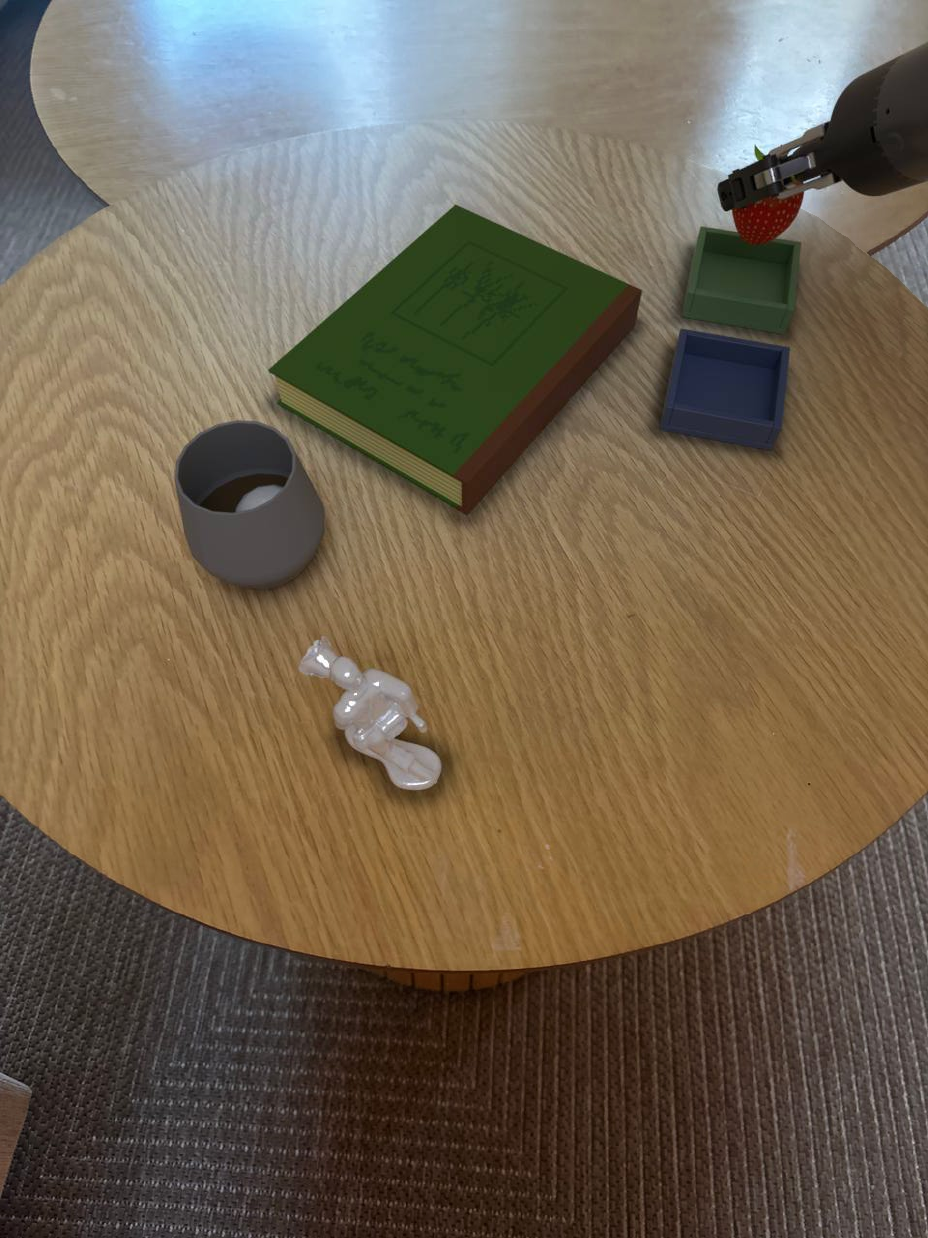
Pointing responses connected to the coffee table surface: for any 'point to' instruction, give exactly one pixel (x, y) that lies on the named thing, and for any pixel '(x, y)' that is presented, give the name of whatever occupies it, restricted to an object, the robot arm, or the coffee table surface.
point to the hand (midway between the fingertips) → (753, 185)
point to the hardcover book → (457, 354)
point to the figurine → (376, 716)
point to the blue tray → (726, 389)
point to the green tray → (742, 281)
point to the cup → (248, 505)
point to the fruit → (767, 215)
